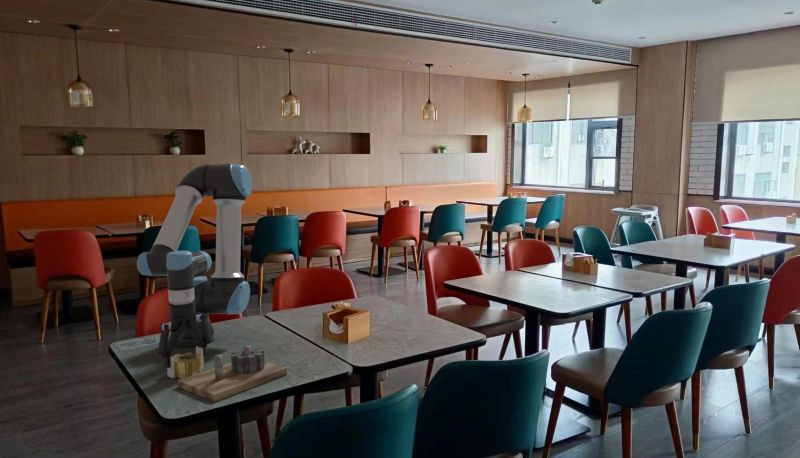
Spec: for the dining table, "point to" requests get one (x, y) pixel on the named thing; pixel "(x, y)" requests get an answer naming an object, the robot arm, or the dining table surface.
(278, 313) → the dining table surface
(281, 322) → the dining table surface
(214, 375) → the gear board
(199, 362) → the brass gear
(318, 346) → the dining table surface
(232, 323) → the dining table surface
